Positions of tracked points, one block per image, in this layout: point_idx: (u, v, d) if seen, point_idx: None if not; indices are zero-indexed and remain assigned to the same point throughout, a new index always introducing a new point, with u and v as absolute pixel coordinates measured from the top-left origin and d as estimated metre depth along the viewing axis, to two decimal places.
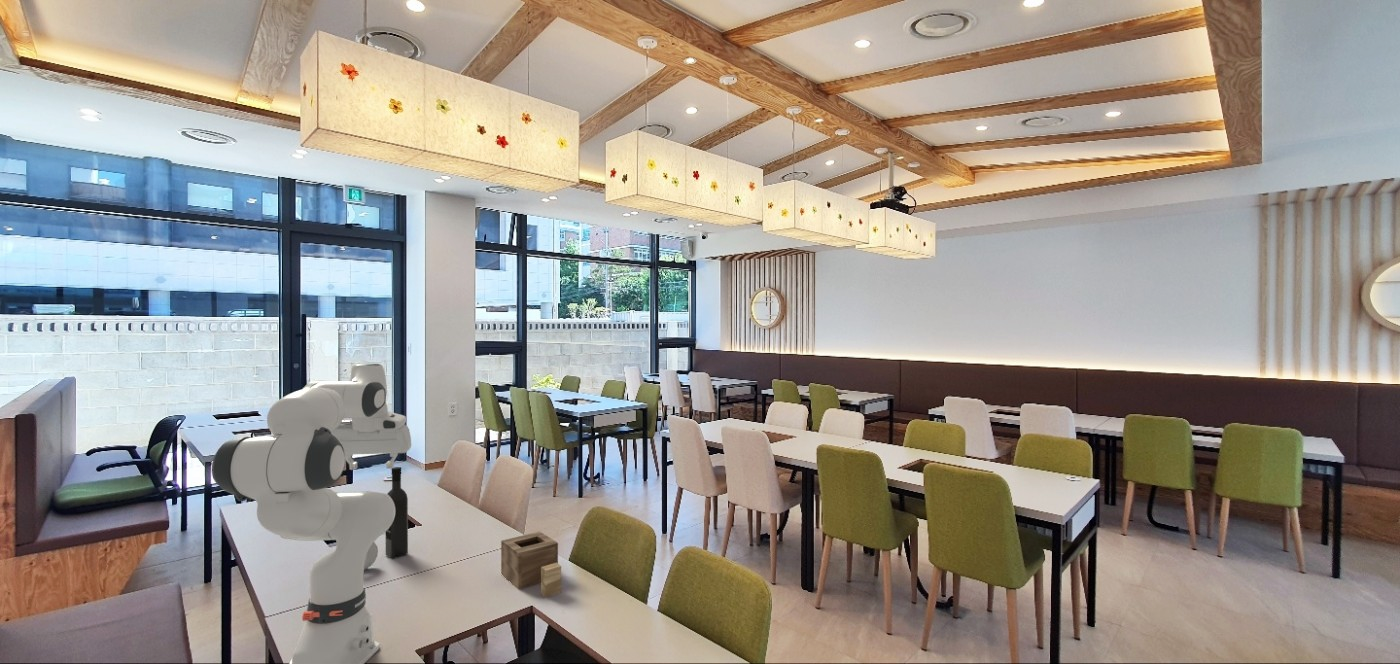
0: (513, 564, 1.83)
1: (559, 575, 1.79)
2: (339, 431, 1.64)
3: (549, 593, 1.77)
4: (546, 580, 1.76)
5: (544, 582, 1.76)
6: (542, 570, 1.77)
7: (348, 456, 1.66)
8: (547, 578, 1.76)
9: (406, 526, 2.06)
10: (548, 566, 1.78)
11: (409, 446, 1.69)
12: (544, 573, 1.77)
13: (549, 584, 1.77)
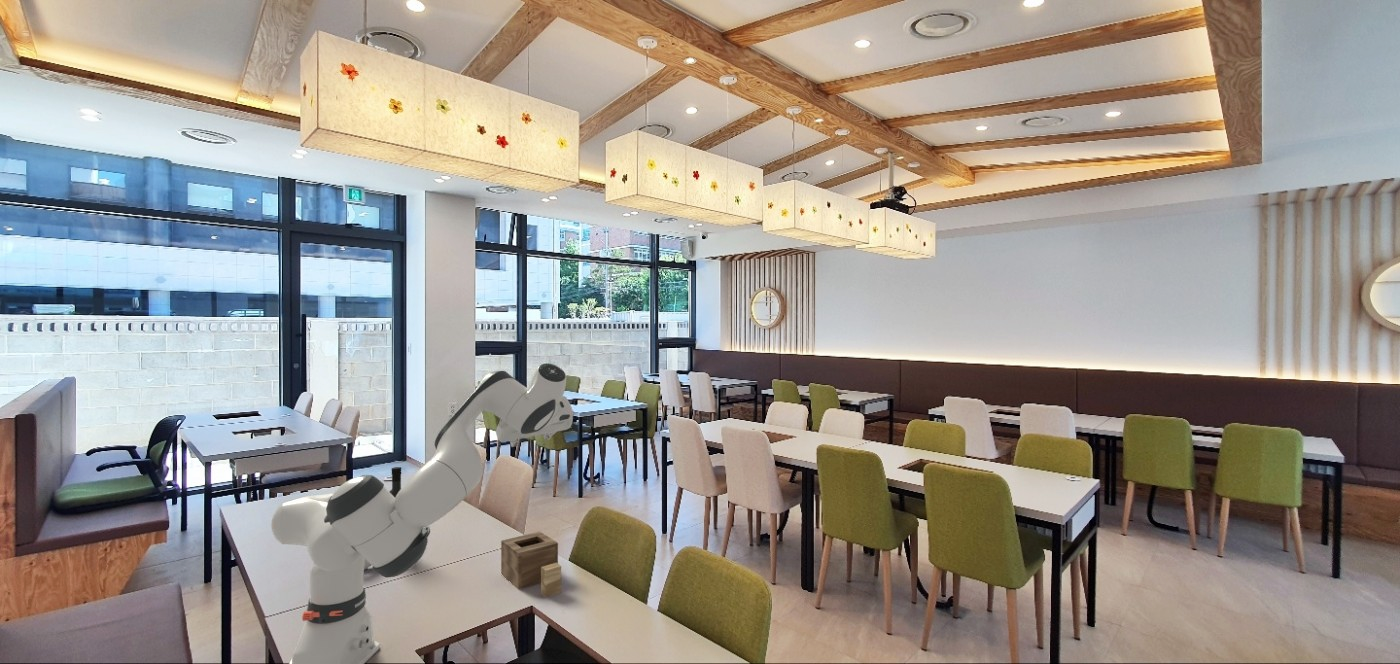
0: (513, 564, 1.83)
1: (559, 575, 1.79)
2: None
3: (549, 593, 1.77)
4: (546, 580, 1.76)
5: (544, 582, 1.76)
6: (542, 570, 1.77)
7: (514, 439, 1.62)
8: (547, 578, 1.76)
9: None
10: (548, 566, 1.78)
11: None
12: (544, 573, 1.77)
13: (549, 584, 1.77)
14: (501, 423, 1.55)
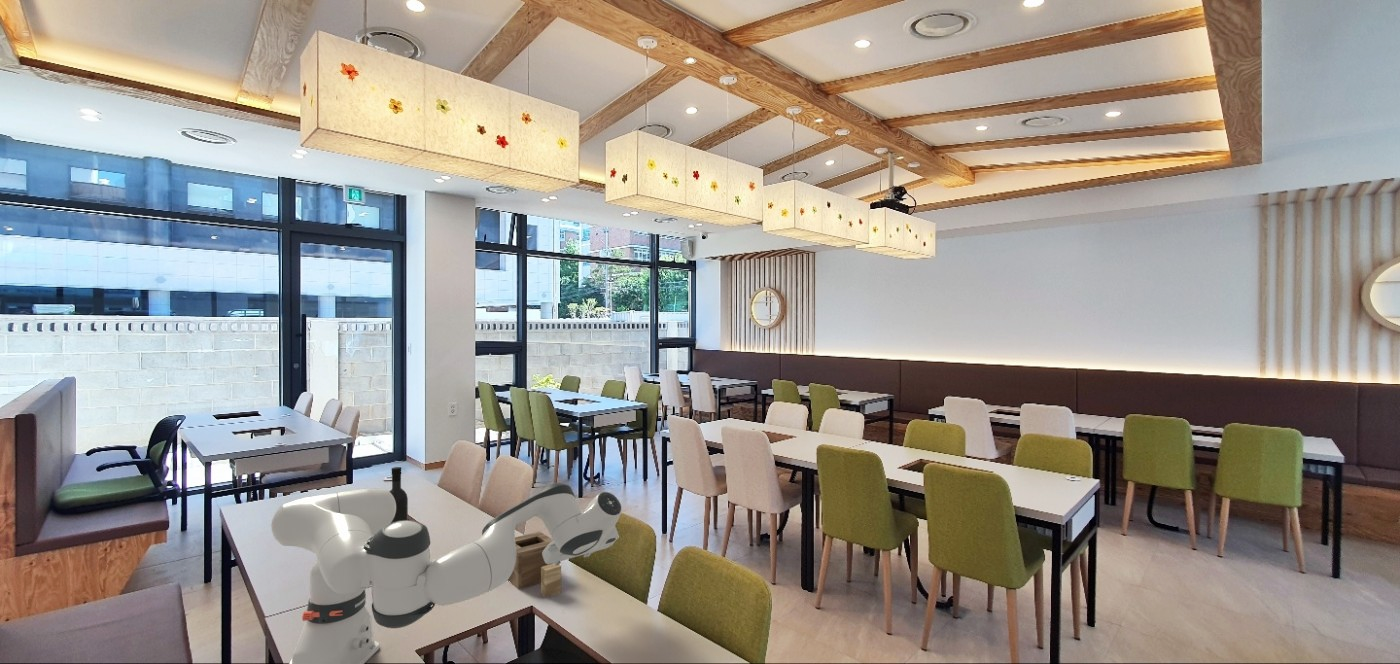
0: None
1: (559, 575, 1.79)
2: None
3: (549, 593, 1.77)
4: (546, 580, 1.76)
5: (544, 582, 1.76)
6: (542, 570, 1.77)
7: None
8: (547, 578, 1.76)
9: None
10: (548, 566, 1.78)
11: None
12: (543, 573, 1.77)
13: (549, 584, 1.77)
14: (551, 548, 1.56)
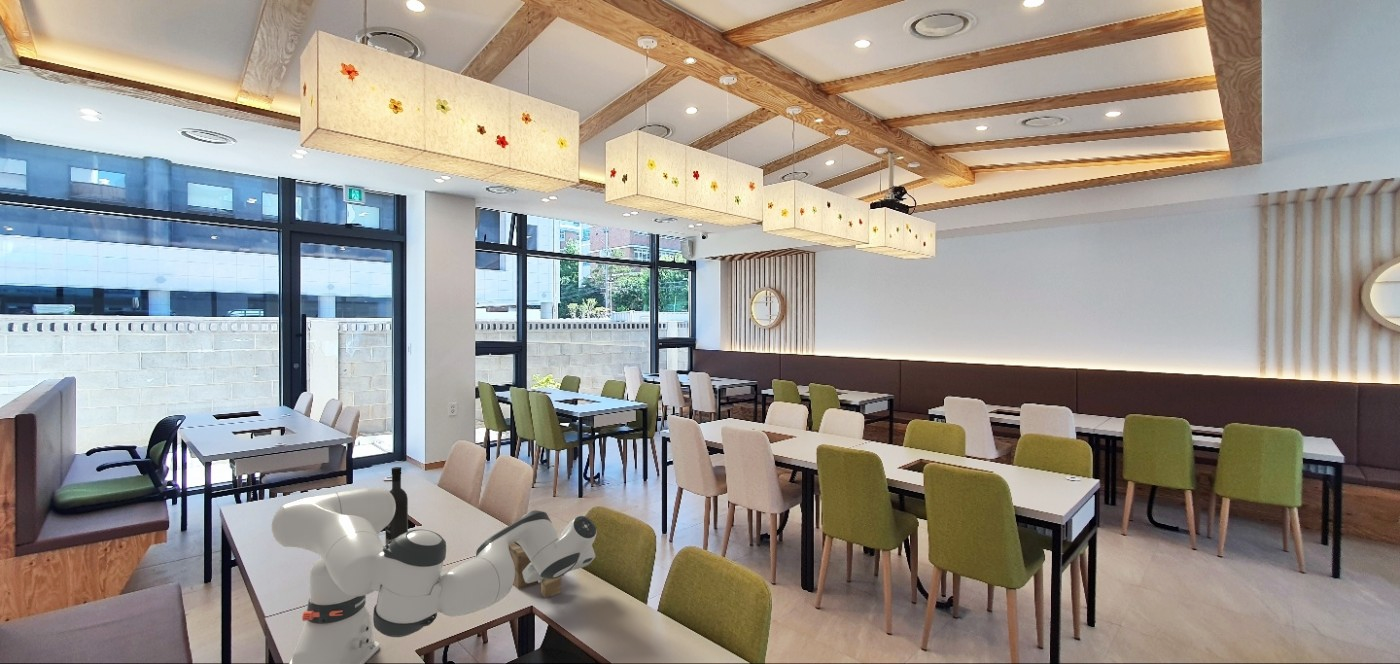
0: None
1: None
2: None
3: (549, 593, 1.77)
4: (546, 580, 1.76)
5: (544, 582, 1.76)
6: None
7: None
8: None
9: (406, 526, 2.06)
10: None
11: None
12: None
13: (549, 584, 1.77)
14: (530, 568, 1.66)
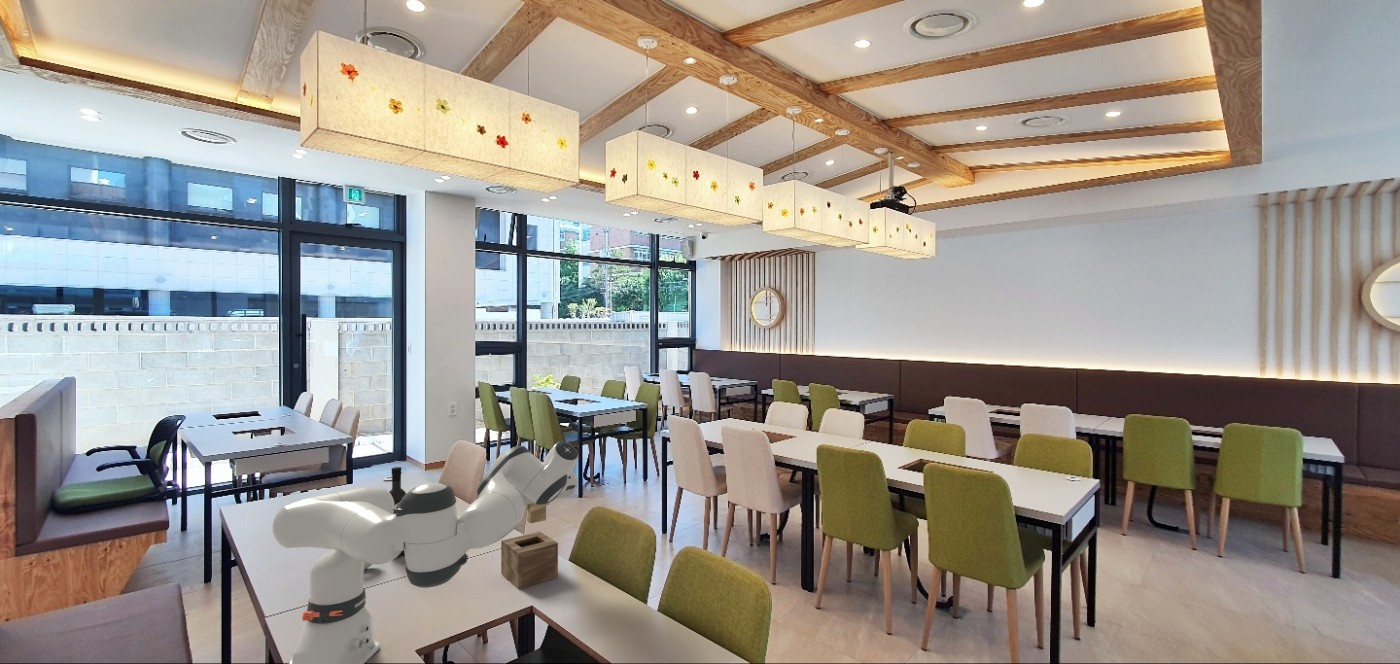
0: (513, 564, 1.83)
1: None
2: None
3: (534, 519, 1.85)
4: (531, 507, 1.84)
5: (529, 508, 1.85)
6: None
7: None
8: (532, 505, 1.84)
9: None
10: None
11: None
12: None
13: (534, 511, 1.85)
14: None
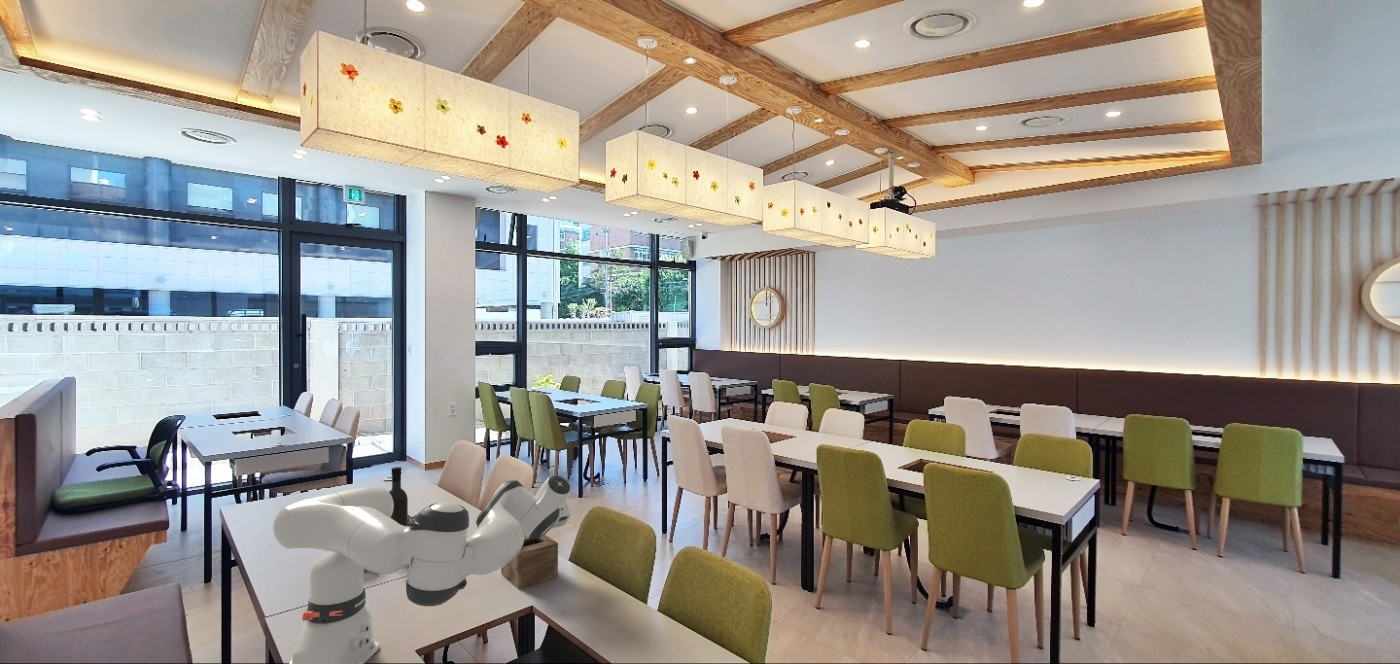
0: (513, 564, 1.83)
1: None
2: None
3: None
4: None
5: None
6: None
7: None
8: None
9: None
10: None
11: None
12: None
13: None
14: None
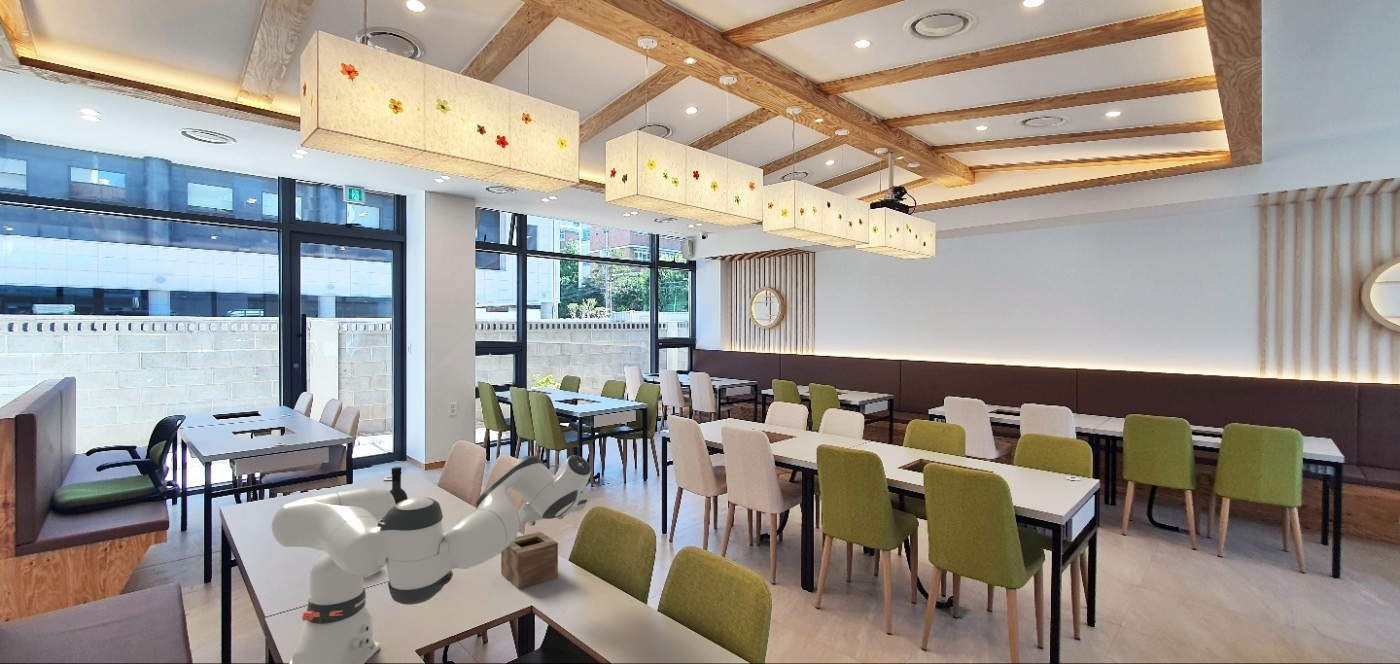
0: (513, 564, 1.83)
1: None
2: None
3: None
4: None
5: None
6: None
7: None
8: None
9: None
10: None
11: None
12: None
13: None
14: (526, 507, 1.68)
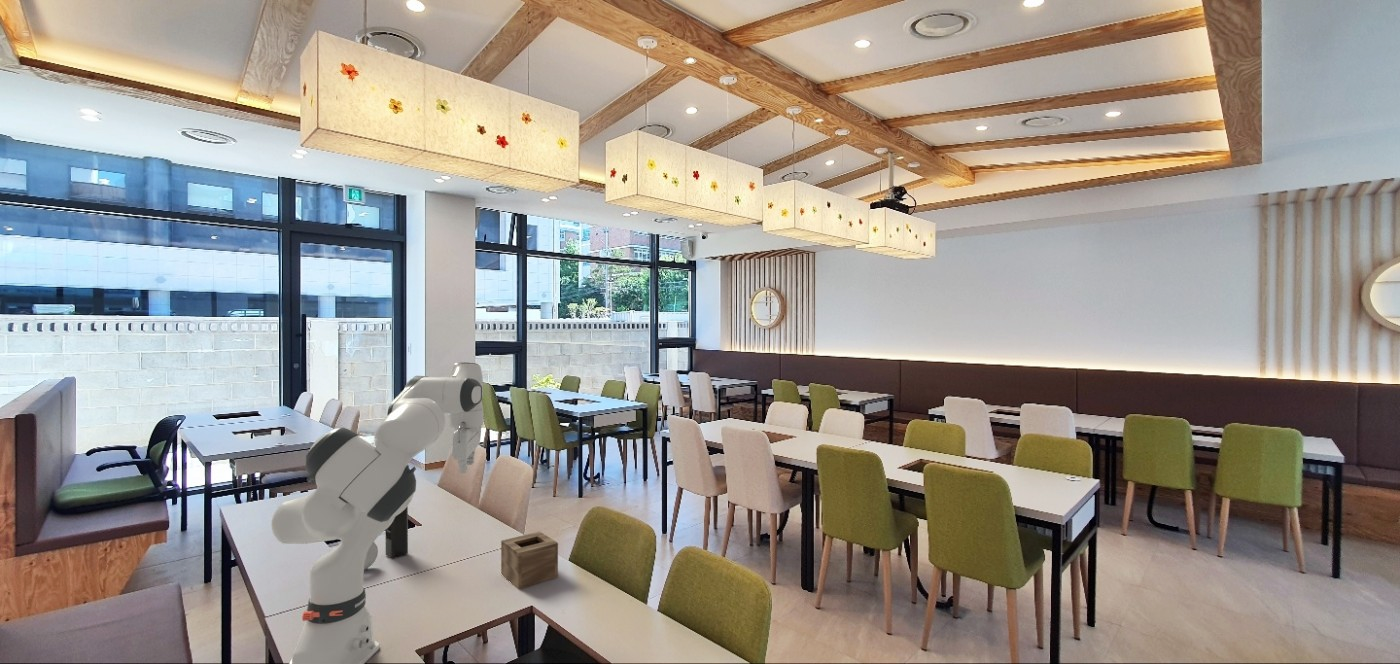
0: (513, 564, 1.83)
1: None
2: (468, 432, 1.63)
3: None
4: None
5: None
6: None
7: (466, 458, 1.64)
8: None
9: (406, 526, 2.06)
10: None
11: None
12: None
13: None
14: (460, 434, 1.60)
